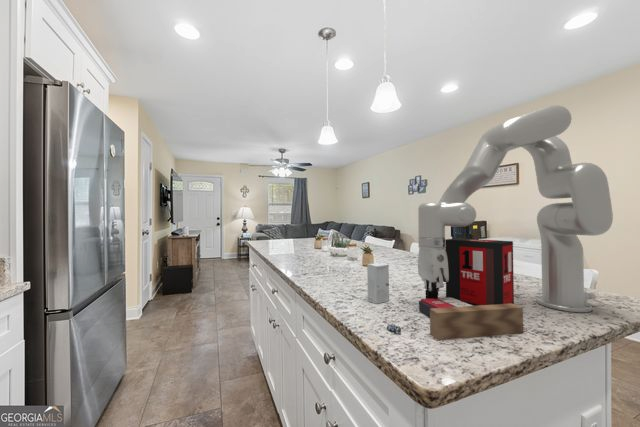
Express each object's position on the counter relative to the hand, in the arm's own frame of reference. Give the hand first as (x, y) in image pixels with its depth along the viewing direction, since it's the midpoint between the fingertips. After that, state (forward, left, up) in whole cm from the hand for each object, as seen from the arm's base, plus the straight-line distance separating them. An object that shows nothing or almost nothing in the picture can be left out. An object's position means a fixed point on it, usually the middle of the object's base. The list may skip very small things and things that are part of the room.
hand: (431, 303), depth 80 cm
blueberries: (+18, +14, -2) cm, 22 cm away
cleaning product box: (-17, -1, -2) cm, 17 cm away
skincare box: (+14, -8, -1) cm, 16 cm away
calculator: (0, +9, -2) cm, 10 cm away
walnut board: (0, +19, -1) cm, 19 cm away
